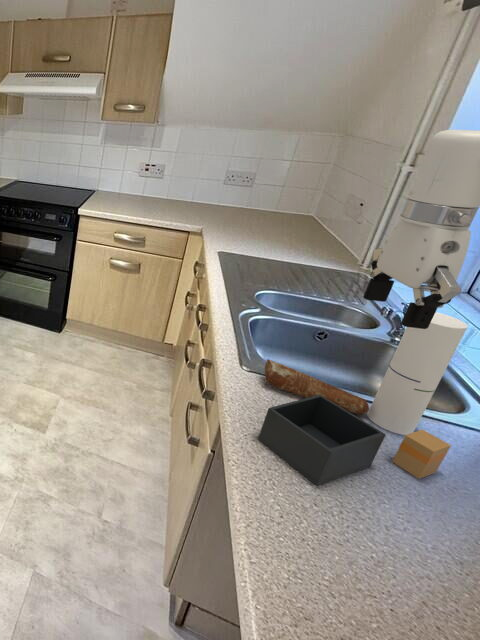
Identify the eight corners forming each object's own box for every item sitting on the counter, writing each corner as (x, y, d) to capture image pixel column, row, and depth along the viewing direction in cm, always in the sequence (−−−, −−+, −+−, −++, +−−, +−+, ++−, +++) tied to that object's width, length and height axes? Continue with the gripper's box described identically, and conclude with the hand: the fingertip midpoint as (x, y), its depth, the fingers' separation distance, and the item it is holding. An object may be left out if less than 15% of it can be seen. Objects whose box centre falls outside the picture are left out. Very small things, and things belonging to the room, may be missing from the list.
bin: (307, 424, 87) (319, 394, 84) (370, 466, 77) (386, 434, 74) (257, 439, 82) (268, 407, 80) (316, 486, 72) (331, 452, 70)
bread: (261, 374, 103) (268, 355, 101) (364, 410, 91) (373, 389, 89) (258, 386, 98) (265, 366, 96) (365, 425, 87) (375, 404, 85)
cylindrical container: (368, 405, 92) (413, 306, 84) (413, 422, 88) (466, 319, 79) (366, 421, 88) (413, 318, 79) (413, 440, 83) (469, 332, 74)
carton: (408, 455, 79) (422, 429, 77) (436, 472, 76) (451, 445, 73) (391, 461, 78) (405, 434, 76) (418, 479, 74) (434, 451, 72)
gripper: (521, 232, 54) (462, 343, 61) (424, 203, 70) (385, 294, 76) (451, 227, 56) (401, 335, 62) (371, 200, 72) (337, 288, 78)
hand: (392, 312), depth 69 cm, fingers open, 9 cm apart
